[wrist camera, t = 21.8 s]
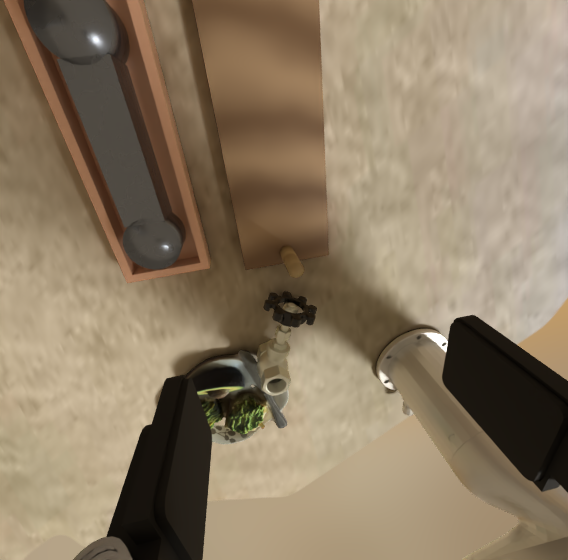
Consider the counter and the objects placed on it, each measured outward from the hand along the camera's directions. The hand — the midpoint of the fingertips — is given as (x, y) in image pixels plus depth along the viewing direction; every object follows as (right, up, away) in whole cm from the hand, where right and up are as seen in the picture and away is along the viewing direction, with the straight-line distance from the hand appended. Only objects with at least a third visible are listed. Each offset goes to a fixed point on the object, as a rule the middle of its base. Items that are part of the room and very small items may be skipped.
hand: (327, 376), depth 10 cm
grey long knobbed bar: (-15, +15, +16) cm, 27 cm away
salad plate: (-10, -14, +34) cm, 38 cm away
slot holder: (-16, +16, +16) cm, 27 cm away
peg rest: (-3, +18, +18) cm, 26 cm away
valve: (-3, -3, +29) cm, 29 cm away
